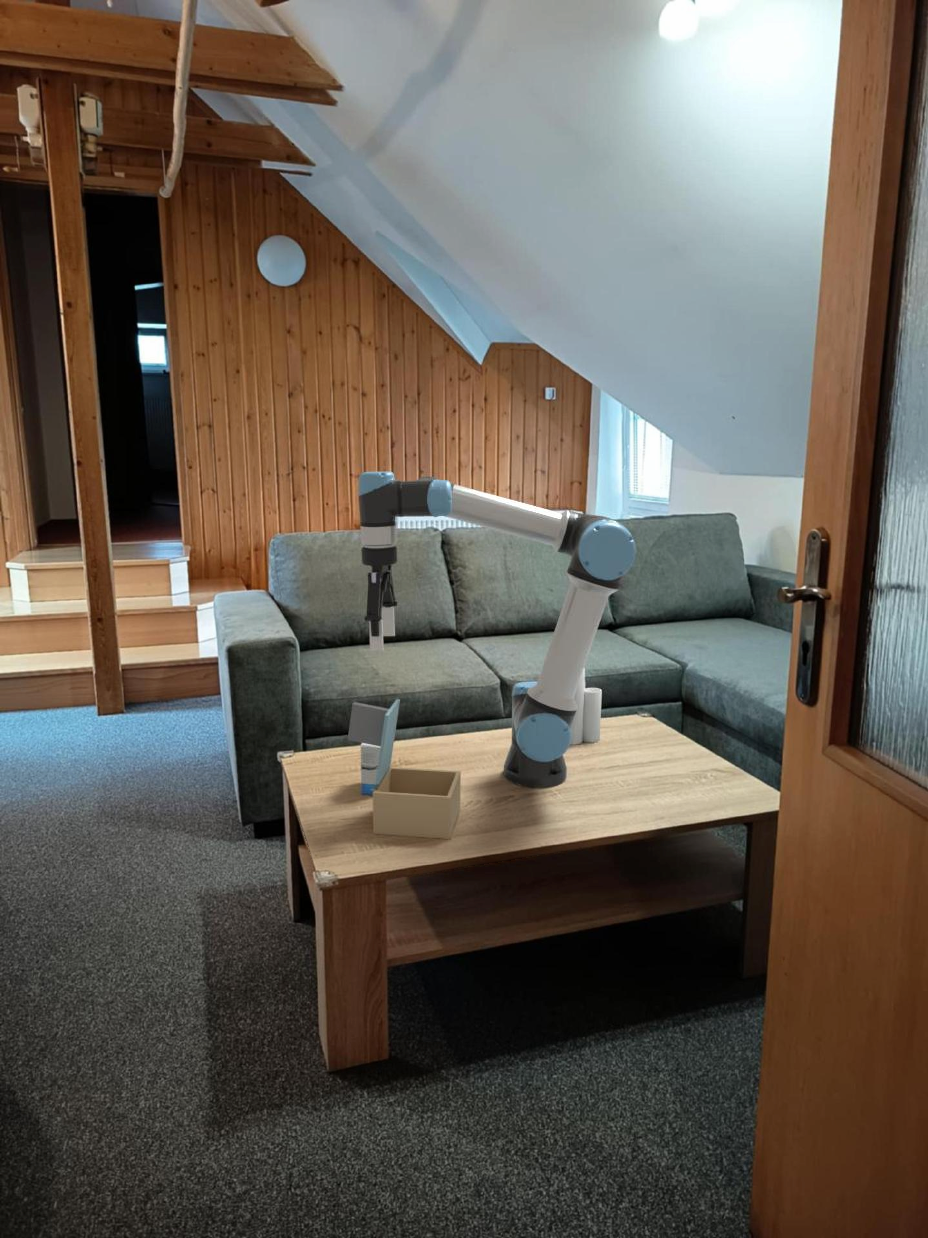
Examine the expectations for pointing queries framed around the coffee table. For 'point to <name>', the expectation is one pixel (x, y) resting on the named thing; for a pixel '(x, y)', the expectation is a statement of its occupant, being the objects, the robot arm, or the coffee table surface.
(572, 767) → the coffee table surface
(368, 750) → the ink box
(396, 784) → the carton
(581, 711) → the vase
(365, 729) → the lid flap
